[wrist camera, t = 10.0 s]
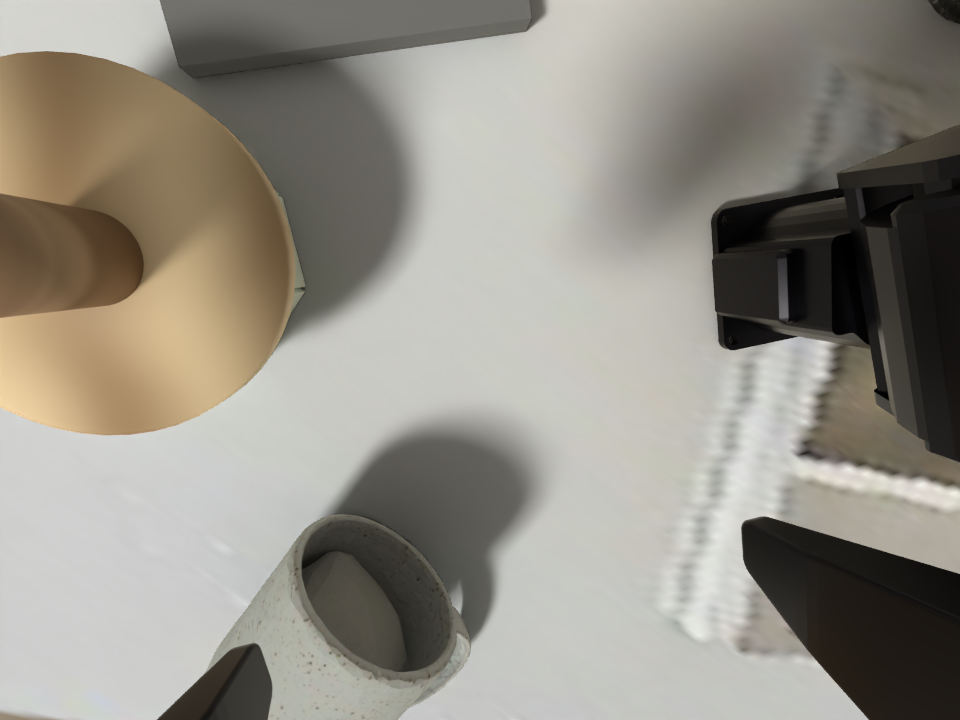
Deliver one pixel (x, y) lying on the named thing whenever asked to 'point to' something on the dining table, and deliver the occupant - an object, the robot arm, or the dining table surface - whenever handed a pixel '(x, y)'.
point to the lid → (129, 250)
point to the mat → (324, 29)
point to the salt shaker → (948, 9)
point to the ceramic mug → (352, 625)
